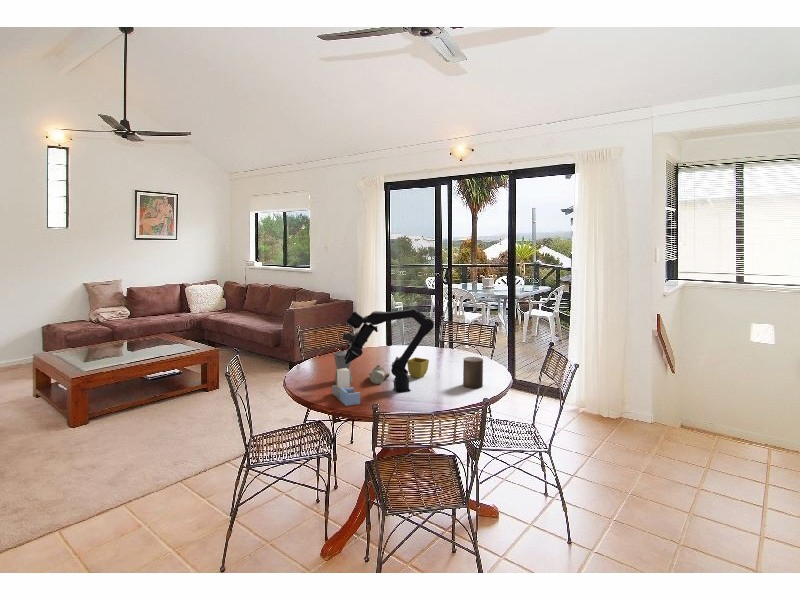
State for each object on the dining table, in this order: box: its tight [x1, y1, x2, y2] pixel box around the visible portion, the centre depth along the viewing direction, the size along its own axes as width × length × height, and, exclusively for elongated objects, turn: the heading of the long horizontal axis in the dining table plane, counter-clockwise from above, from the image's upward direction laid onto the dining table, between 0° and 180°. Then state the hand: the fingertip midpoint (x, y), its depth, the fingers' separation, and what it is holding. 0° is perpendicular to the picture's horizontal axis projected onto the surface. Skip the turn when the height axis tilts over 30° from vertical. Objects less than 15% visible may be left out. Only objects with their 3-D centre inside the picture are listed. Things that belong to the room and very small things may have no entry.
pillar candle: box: [462, 356, 484, 389], centre depth 242 cm, size 10×10×15 cm
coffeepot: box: [333, 347, 353, 385], centre depth 249 cm, size 15×9×18 cm, turn 159°
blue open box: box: [331, 384, 355, 401], centre depth 227 cm, size 7×11×4 cm, turn 26°
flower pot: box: [406, 357, 430, 379], centre depth 258 cm, size 9×9×9 cm
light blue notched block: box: [339, 386, 361, 407], centre depth 219 cm, size 7×9×6 cm
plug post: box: [336, 368, 351, 390], centre depth 227 cm, size 4×4×12 cm
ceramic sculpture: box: [368, 364, 390, 385], centre depth 251 cm, size 11×9×15 cm
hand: (345, 361), depth 233 cm, fingers open, 9 cm apart
